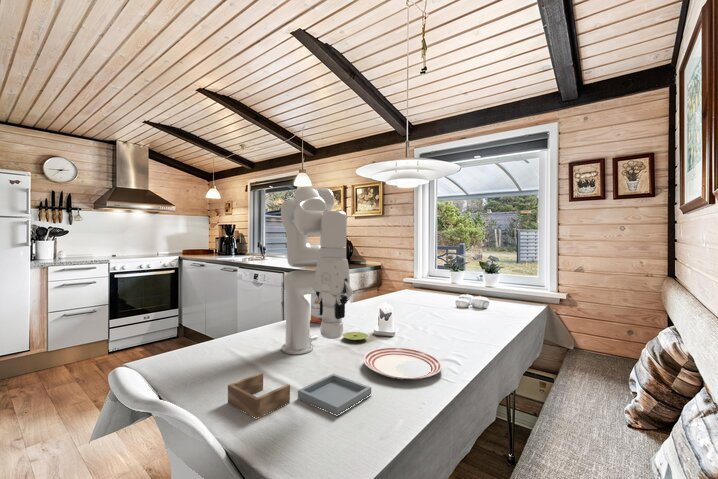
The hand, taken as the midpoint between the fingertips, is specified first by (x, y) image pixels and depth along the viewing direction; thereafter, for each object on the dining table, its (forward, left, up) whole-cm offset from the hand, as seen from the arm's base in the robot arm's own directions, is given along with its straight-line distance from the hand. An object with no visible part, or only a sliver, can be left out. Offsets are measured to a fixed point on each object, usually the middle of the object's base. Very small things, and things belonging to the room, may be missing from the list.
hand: (332, 315), depth 100 cm
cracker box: (-57, -57, -24) cm, 84 cm away
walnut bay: (+16, -13, -24) cm, 31 cm away
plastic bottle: (0, 0, -7) cm, 7 cm away
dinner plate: (-31, +5, -24) cm, 40 cm away
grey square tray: (0, +1, -24) cm, 24 cm away
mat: (-45, -27, -24) cm, 58 cm away
